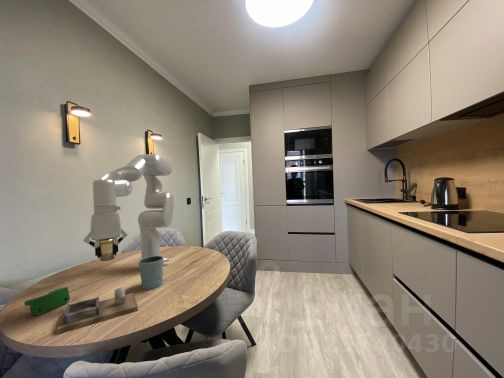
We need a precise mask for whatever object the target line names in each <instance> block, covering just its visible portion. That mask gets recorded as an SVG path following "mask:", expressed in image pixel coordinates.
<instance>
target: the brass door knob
mask: <svg viewBox="0 0 504 378" xmlns="http://www.w3.org/2000/svg"><path fill="white" fill-rule="evenodd" d="M114 243H115V242H114V239H113V238H112V239H104V240H100V241H99V244H98V245H99V250H100V258H99V262H108V261H113V260H114V259H115V256H116V255H114Z"/></svg>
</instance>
